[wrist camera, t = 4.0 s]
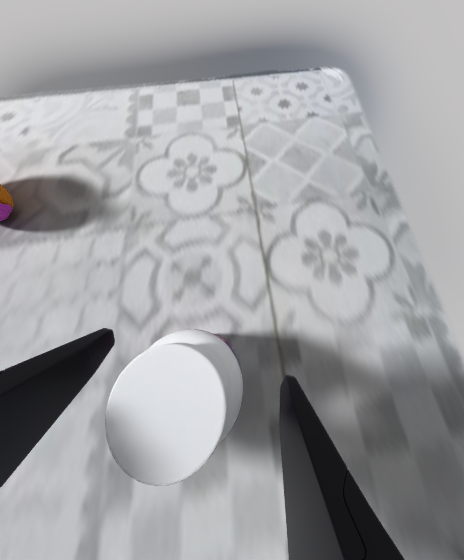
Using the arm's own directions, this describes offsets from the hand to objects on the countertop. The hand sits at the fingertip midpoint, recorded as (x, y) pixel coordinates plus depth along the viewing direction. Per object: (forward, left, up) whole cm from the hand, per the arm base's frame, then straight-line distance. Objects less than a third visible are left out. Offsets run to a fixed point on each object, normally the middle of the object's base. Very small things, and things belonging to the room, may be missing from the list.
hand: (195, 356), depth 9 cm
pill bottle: (-1, +1, -7) cm, 7 cm away
